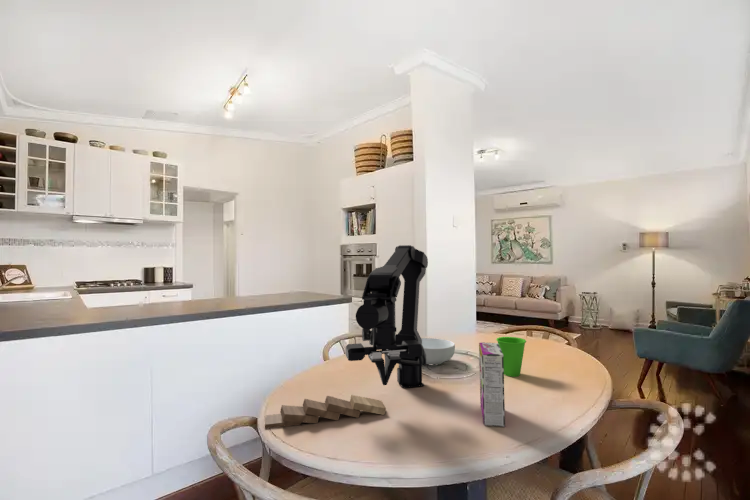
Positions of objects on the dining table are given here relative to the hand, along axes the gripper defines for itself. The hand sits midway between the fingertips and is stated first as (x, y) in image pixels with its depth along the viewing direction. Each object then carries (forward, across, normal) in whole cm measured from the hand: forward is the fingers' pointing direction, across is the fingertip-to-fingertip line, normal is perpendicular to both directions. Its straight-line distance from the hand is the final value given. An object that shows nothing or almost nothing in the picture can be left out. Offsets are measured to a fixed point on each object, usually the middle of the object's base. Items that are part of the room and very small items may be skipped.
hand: (384, 384), depth 95 cm
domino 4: (+6, +7, 0) cm, 9 cm away
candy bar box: (+7, -24, +9) cm, 26 cm away
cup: (+7, -46, -18) cm, 50 cm away
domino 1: (+6, +21, 0) cm, 22 cm away
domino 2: (+6, +17, 0) cm, 18 cm away
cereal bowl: (+7, -26, -37) cm, 46 cm away
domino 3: (+6, +12, 0) cm, 13 cm away
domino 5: (+6, 0, 0) cm, 6 cm away
